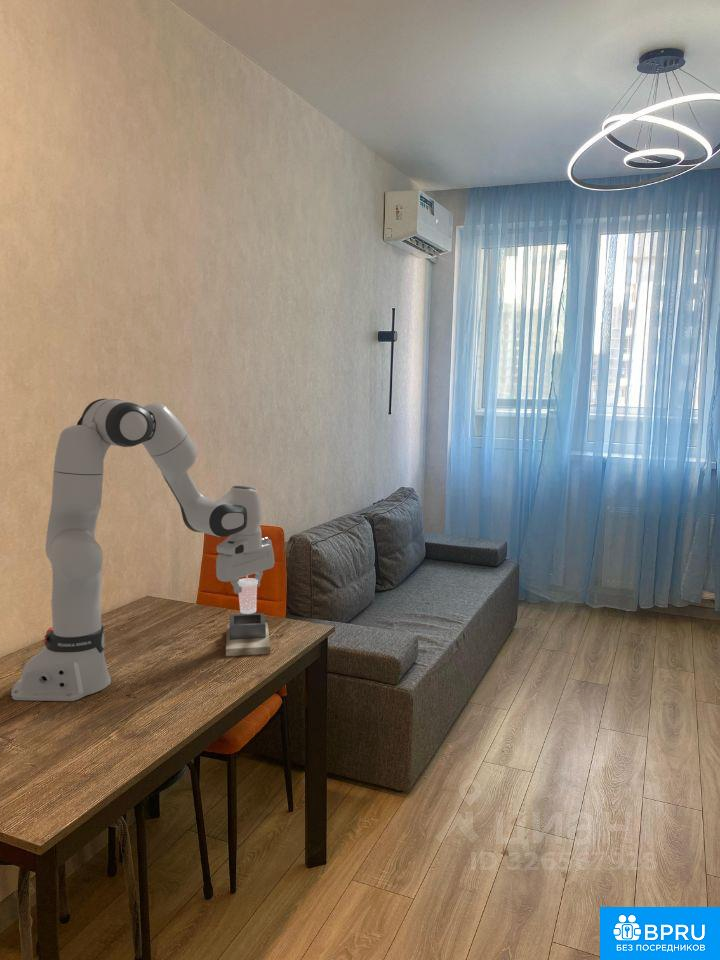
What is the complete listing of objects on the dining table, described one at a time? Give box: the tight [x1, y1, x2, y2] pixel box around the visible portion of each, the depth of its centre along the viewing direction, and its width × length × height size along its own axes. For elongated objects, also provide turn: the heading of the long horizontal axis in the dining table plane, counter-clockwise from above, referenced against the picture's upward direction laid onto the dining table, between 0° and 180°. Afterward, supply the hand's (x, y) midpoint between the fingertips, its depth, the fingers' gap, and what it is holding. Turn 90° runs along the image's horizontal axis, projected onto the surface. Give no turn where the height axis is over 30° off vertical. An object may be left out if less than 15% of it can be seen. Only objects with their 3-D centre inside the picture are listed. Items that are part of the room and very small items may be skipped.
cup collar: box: [229, 612, 266, 640], centre depth 215 cm, size 10×10×4 cm
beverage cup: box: [238, 575, 258, 614], centre depth 214 cm, size 6×6×14 cm
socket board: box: [225, 622, 272, 657], centre depth 214 cm, size 12×20×2 cm, turn 9°
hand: (247, 589), depth 214 cm, fingers closed on beverage cup, 6 cm apart
